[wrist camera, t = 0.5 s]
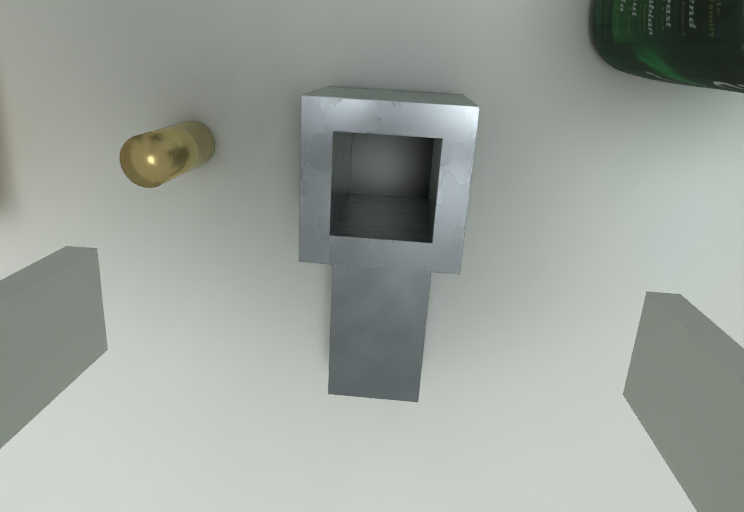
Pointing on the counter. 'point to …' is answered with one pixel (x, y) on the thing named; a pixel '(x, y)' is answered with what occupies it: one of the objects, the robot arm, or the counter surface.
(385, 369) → the link
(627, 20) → the coffee jar
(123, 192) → the counter surface
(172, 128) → the pin
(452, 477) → the counter surface
